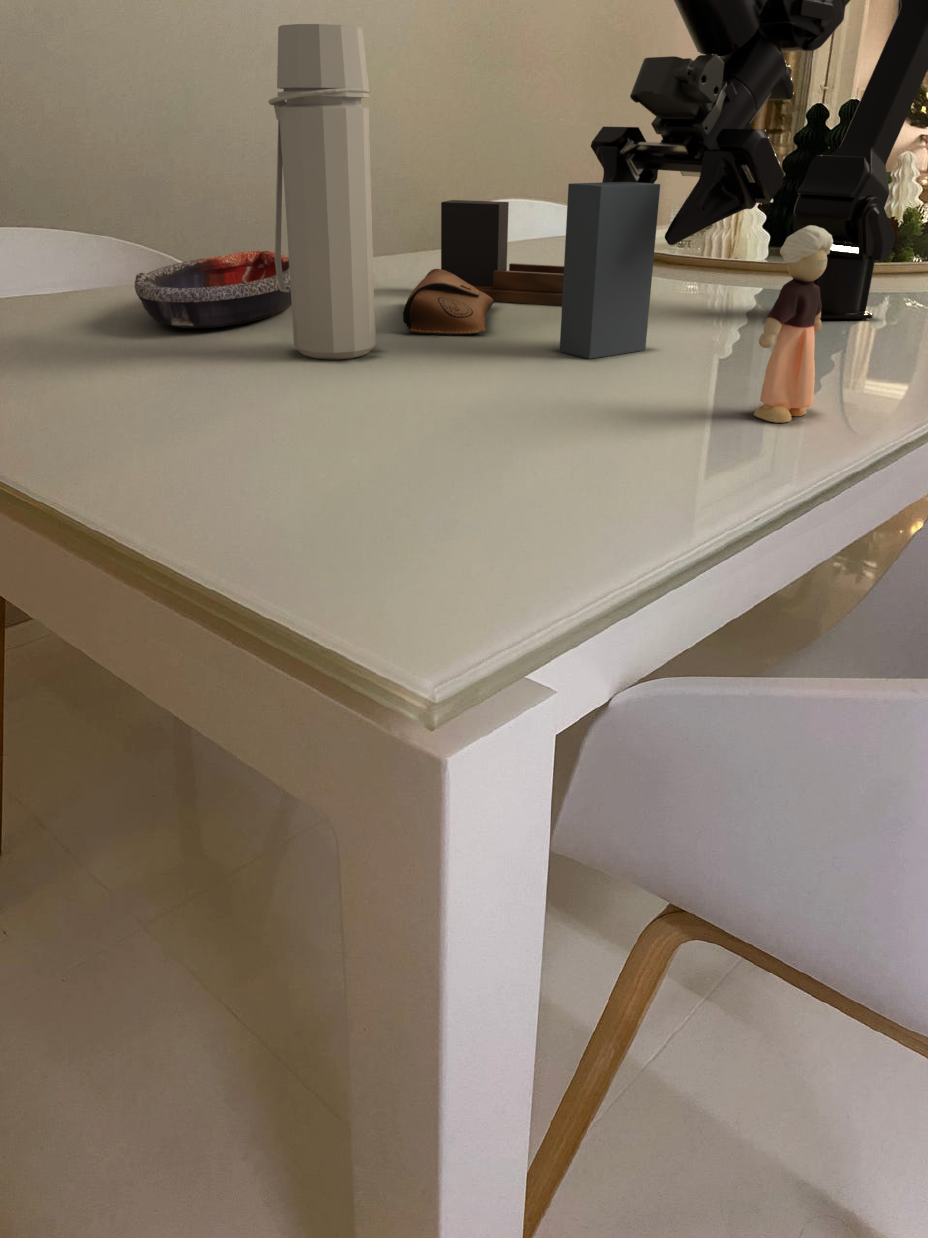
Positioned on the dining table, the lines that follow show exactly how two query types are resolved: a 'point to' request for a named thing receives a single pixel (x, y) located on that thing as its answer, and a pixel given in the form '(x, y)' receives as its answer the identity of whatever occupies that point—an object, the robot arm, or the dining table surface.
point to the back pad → (608, 267)
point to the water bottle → (325, 188)
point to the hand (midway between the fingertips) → (629, 236)
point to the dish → (215, 290)
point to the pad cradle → (492, 255)
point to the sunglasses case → (446, 306)
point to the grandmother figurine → (794, 328)
